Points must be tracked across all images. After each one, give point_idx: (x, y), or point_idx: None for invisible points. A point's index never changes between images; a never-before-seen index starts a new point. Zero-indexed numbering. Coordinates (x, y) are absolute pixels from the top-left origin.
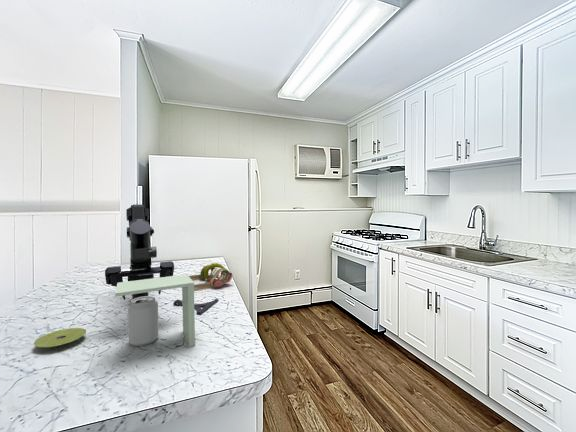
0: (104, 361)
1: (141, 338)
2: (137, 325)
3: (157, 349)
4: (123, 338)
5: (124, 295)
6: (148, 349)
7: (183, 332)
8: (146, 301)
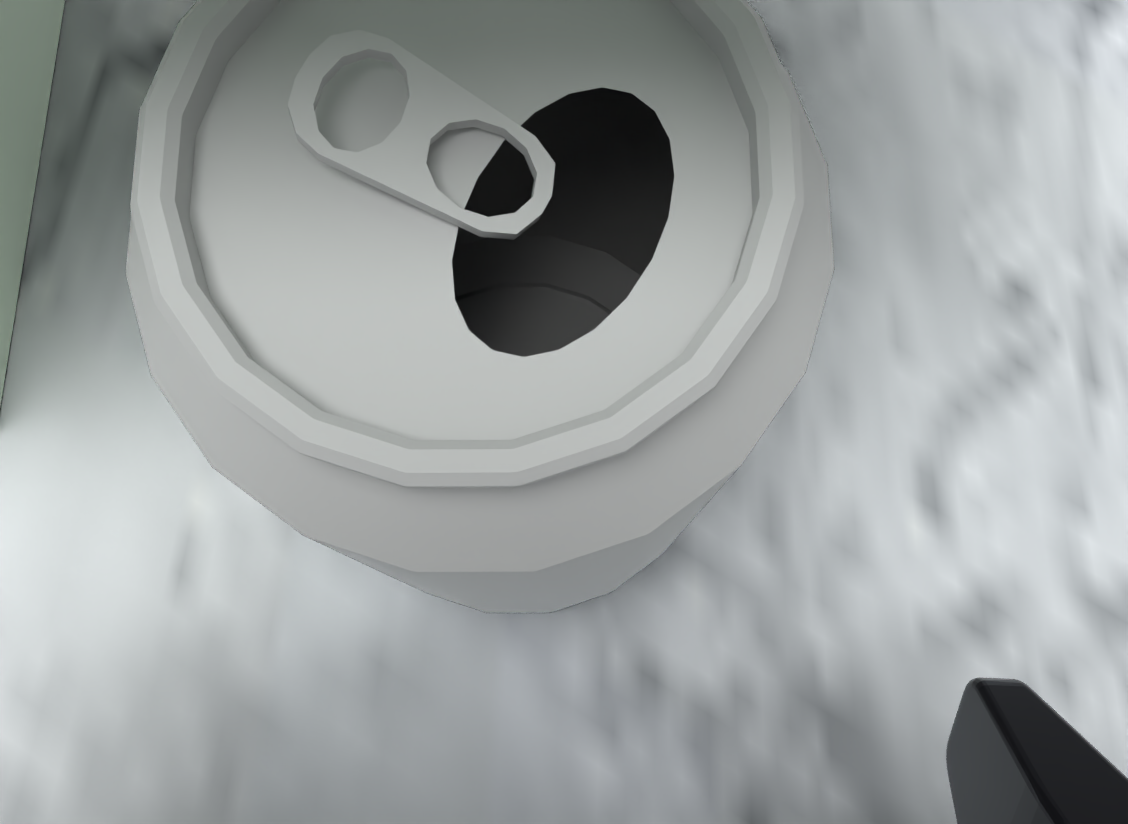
0: (948, 132)
1: (560, 206)
2: (614, 127)
3: None
4: (778, 671)
5: (1020, 720)
6: None
7: (1, 386)
8: (387, 107)
